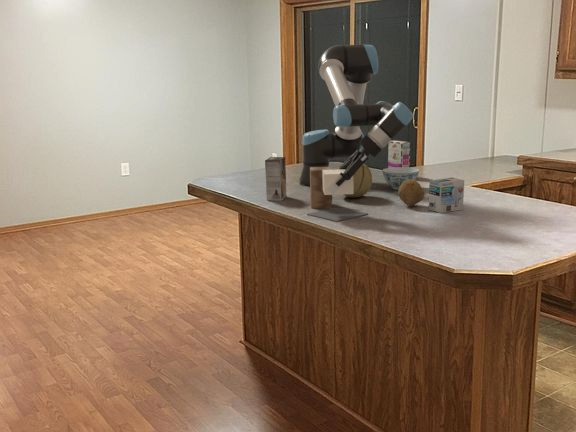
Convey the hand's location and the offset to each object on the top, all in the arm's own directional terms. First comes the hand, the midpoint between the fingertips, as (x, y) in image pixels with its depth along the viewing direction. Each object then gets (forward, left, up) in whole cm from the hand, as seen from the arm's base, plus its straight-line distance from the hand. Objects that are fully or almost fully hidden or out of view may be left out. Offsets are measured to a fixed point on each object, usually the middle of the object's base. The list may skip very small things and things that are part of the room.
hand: (328, 188), depth 211 cm
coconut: (-31, +10, -10) cm, 34 cm away
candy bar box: (-76, -34, -10) cm, 83 cm away
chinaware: (-55, -15, -10) cm, 58 cm away
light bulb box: (-35, +23, -10) cm, 43 cm away
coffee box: (-6, -37, -10) cm, 38 cm away
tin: (-9, -14, -9) cm, 19 cm away
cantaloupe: (-28, -16, -10) cm, 33 cm away
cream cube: (-2, +2, -1) cm, 3 cm away
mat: (-3, +1, -9) cm, 10 cm away
